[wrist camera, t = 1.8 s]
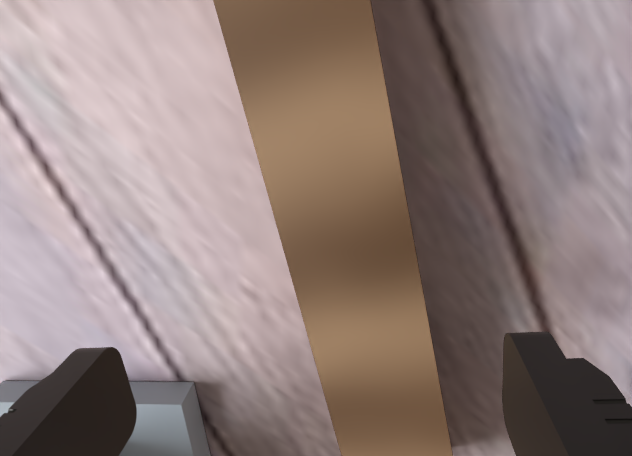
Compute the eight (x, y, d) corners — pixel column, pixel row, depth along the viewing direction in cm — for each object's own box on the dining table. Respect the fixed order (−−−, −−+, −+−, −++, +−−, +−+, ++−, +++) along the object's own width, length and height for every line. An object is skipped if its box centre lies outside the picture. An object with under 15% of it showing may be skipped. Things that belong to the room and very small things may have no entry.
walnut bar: (213, -138, 15) (157, -199, 11) (337, -182, 14) (321, -264, 10) (364, 448, 23) (362, 528, 19) (450, 442, 22) (464, 523, 18)
